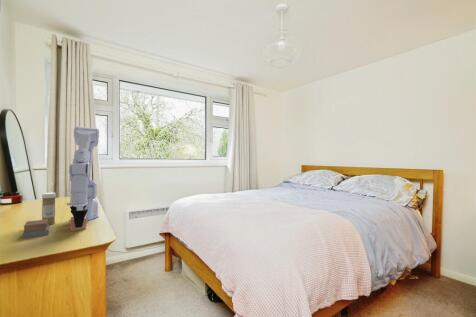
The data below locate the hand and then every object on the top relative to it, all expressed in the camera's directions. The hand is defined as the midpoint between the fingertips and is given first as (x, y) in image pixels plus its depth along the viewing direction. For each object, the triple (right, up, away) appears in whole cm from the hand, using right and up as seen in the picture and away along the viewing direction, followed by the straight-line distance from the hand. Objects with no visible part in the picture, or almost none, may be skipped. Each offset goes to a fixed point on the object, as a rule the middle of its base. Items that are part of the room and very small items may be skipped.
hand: (78, 224), depth 93 cm
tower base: (-10, -2, -8) cm, 13 cm away
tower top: (-10, +1, -8) cm, 13 cm away
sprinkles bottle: (-16, -1, +4) cm, 17 cm away
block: (0, -2, 0) cm, 2 cm away
